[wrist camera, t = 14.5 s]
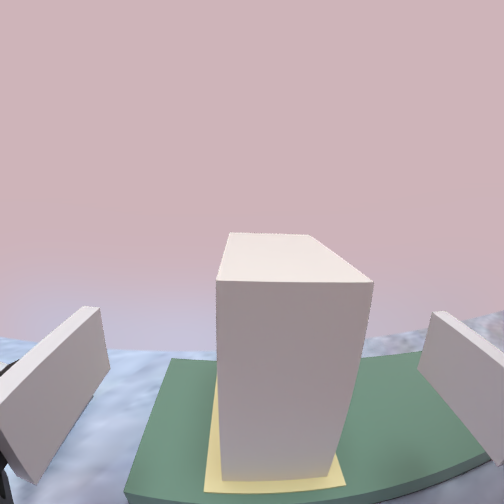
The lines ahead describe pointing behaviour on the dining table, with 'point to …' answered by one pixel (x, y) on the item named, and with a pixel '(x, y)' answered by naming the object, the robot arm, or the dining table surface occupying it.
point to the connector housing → (285, 354)
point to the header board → (346, 456)
